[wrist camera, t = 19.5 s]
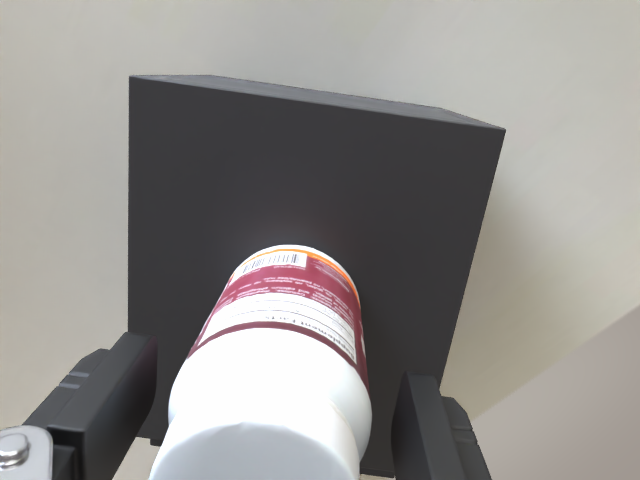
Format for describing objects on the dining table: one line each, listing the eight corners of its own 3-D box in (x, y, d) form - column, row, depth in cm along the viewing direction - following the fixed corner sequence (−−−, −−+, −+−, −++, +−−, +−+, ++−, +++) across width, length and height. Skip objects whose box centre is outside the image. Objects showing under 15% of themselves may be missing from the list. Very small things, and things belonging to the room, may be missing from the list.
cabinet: (392, 346, 28) (417, 475, 19) (195, 319, 28) (126, 436, 19) (442, 108, 24) (507, 129, 15) (209, 74, 24) (128, 74, 15)
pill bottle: (324, 383, 18) (313, 629, 10) (205, 331, 17) (92, 547, 9) (386, 277, 16) (430, 467, 8) (258, 217, 16) (176, 358, 8)
